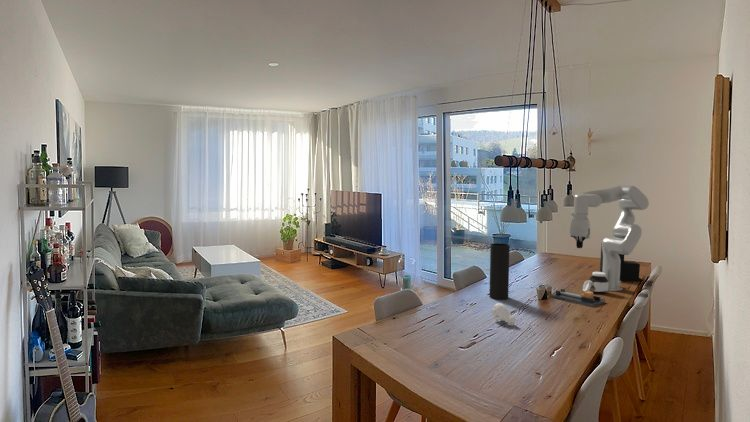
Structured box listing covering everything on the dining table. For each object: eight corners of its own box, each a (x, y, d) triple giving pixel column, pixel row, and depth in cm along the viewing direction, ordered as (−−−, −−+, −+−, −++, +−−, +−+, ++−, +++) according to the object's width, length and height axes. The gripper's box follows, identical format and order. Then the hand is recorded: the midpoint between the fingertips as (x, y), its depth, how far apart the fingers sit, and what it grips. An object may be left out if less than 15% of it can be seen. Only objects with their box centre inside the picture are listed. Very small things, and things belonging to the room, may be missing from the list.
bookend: (636, 278, 305) (638, 243, 303) (642, 281, 294) (644, 245, 293) (599, 276, 310) (600, 242, 308) (603, 279, 299) (605, 244, 297)
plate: (563, 293, 265) (563, 287, 265) (605, 302, 246) (605, 296, 246) (550, 297, 256) (550, 291, 256) (592, 307, 237) (592, 300, 237)
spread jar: (610, 293, 264) (611, 274, 263) (595, 295, 260) (596, 275, 259) (593, 289, 275) (594, 270, 274) (579, 290, 271) (579, 271, 270)
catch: (584, 297, 251) (584, 290, 250) (593, 299, 247) (593, 291, 246) (579, 298, 247) (579, 291, 247) (588, 300, 244) (588, 293, 243)
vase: (508, 300, 250) (510, 246, 247) (489, 299, 252) (491, 245, 249) (507, 295, 260) (508, 243, 258) (489, 294, 262) (490, 243, 260)
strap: (561, 292, 260) (561, 290, 260) (586, 297, 249) (586, 295, 249) (557, 293, 258) (557, 291, 258) (582, 298, 247) (582, 296, 247)
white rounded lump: (500, 301, 217) (520, 309, 207) (498, 317, 219) (518, 327, 209) (491, 302, 214) (510, 311, 204) (489, 320, 215) (509, 329, 205)
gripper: (564, 215, 263) (563, 246, 265) (590, 217, 251) (589, 250, 253) (571, 214, 268) (570, 245, 269) (596, 216, 256) (595, 248, 258)
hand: (579, 247), depth 261 cm, fingers closed
